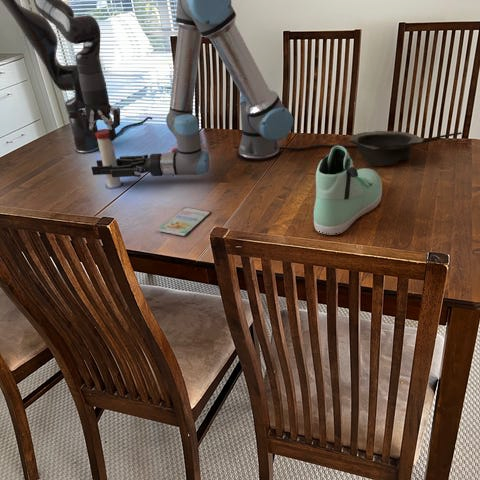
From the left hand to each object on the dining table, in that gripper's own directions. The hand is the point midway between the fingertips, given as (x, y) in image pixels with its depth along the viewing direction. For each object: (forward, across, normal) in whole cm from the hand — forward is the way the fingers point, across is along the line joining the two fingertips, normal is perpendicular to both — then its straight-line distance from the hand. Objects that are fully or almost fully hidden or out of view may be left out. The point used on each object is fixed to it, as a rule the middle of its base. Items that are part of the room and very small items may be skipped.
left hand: (104, 139), depth 157 cm
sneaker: (+16, +79, -13) cm, 81 cm away
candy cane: (+16, +13, +25) cm, 33 cm away
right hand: (+10, -5, -1) cm, 11 cm away
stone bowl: (+15, +91, +26) cm, 96 cm away
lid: (-2, 0, 0) cm, 2 cm away
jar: (+16, 0, 0) cm, 16 cm away
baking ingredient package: (+16, +32, -24) cm, 43 cm away
